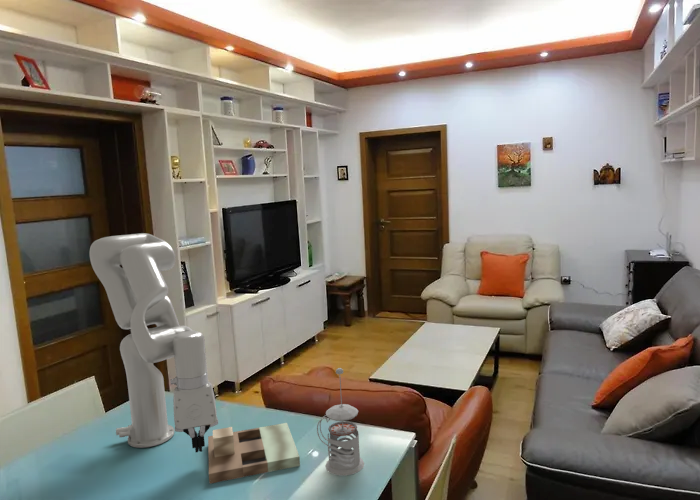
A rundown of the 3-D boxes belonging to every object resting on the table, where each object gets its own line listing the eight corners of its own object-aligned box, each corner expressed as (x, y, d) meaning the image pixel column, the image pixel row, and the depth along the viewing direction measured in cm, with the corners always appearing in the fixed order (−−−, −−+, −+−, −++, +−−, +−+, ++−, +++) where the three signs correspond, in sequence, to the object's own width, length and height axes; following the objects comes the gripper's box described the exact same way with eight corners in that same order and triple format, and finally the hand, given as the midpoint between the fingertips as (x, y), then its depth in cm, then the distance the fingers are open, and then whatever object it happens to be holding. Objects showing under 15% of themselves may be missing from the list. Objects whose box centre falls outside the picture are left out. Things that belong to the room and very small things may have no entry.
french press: (356, 478, 120) (351, 377, 117) (312, 471, 124) (306, 373, 121) (369, 457, 129) (364, 363, 126) (327, 451, 133) (322, 359, 130)
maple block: (214, 457, 128) (213, 438, 127) (214, 448, 133) (212, 430, 132) (234, 453, 129) (233, 435, 129) (233, 444, 134) (232, 426, 134)
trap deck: (209, 483, 121) (208, 473, 120) (208, 445, 140) (208, 436, 140) (300, 465, 127) (299, 456, 126) (287, 430, 146) (286, 422, 145)
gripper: (159, 390, 121) (167, 462, 123) (223, 381, 125) (229, 451, 127) (162, 380, 129) (169, 448, 131) (222, 371, 133) (228, 437, 135)
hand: (198, 449), depth 129 cm, fingers closed
